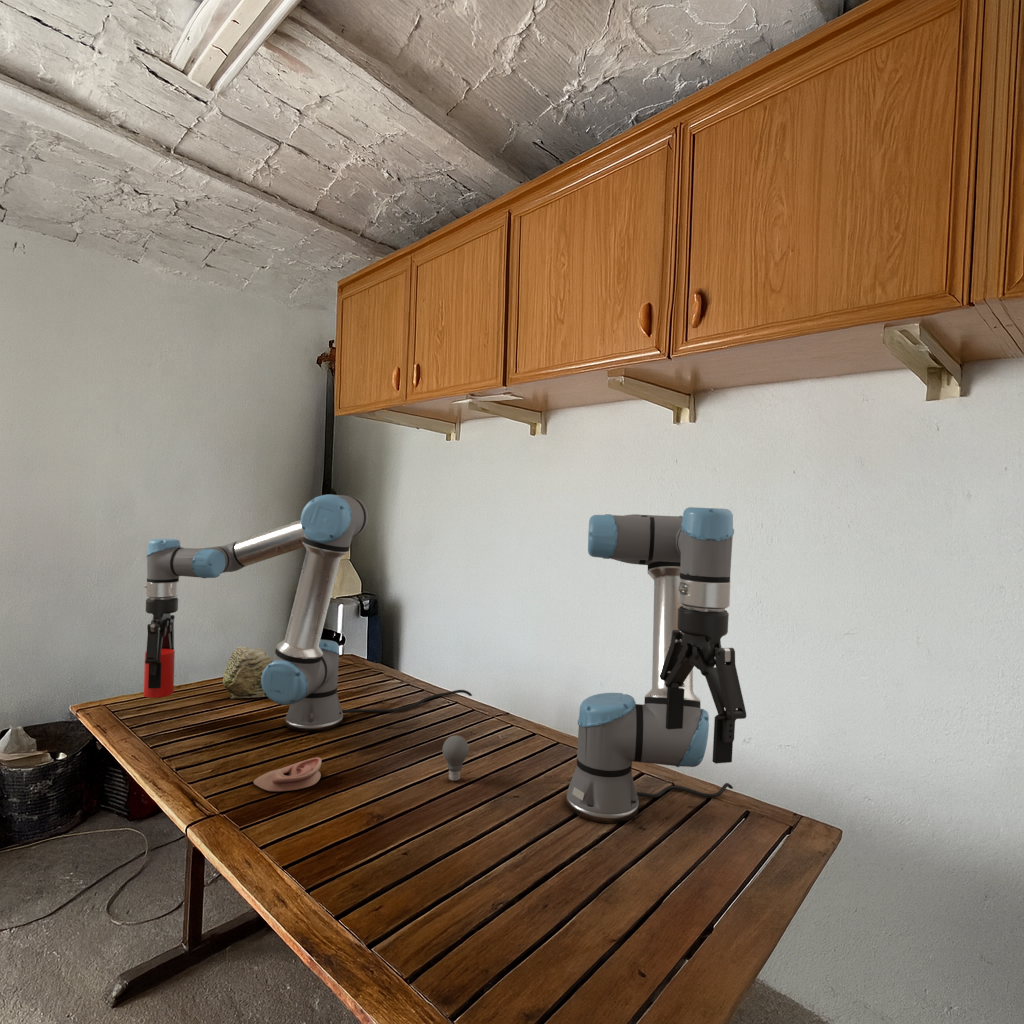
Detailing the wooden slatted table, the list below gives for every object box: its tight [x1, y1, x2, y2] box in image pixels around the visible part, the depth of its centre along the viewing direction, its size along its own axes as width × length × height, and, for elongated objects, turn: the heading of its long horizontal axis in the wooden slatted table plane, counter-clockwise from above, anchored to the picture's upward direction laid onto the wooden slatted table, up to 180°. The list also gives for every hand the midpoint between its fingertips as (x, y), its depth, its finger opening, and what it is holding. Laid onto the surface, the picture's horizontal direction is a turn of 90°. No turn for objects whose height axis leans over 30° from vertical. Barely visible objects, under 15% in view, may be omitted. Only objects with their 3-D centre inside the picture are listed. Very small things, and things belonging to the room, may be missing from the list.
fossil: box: [222, 646, 273, 699], centre depth 198 cm, size 9×18×15 cm, turn 132°
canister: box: [143, 649, 176, 699], centre depth 168 cm, size 7×7×11 cm
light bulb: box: [442, 734, 470, 782], centre depth 144 cm, size 6×6×10 cm
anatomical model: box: [253, 757, 323, 792], centre depth 140 cm, size 13×4×12 cm
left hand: (159, 683), depth 168 cm, fingers closed on canister, 7 cm apart
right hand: (696, 744), depth 98 cm, fingers open, 13 cm apart
